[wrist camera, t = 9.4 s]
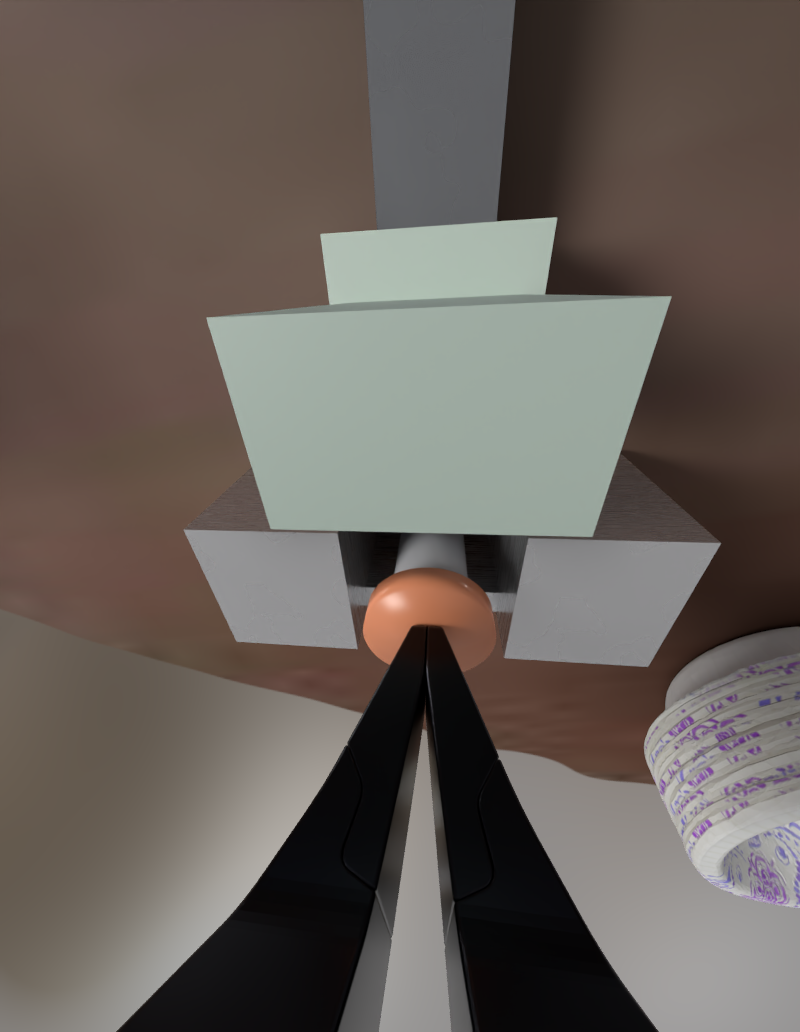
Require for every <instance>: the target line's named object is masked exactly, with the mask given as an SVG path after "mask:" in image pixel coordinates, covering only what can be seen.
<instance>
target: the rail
mask: <svg viewBox="0 0 800 1032" xmlns="http://www.w3.org/2000/svg"><path fill="white" fill-rule="evenodd" d="M363 5H364V22H365V38H366V55H367V71H368V88H369V104H370V121H371V137H372V153H373V170H374V186H375V203H376V219H377V230H385V229H399V228H413V227H427V226H441V225H455V224H469V223H483V222H497V210H498V198H499V187H500V175H501V163H502V152H503V140H504V128H505V117H506V105H507V93H508V81H509V70H510V58H511V46H512V35H513V23H514V11H515V0H363Z"/></svg>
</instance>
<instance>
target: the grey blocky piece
mask: <svg viewBox="0 0 800 1032" xmlns="http://www.w3.org/2000/svg"><path fill="white" fill-rule="evenodd" d="M184 532H185V534H186V536H187V538H188V540H189V542H190V544H191V546H192V549H193V551H194V553H195V555H196V557H197V559H198V561H199V563H200V565H201V567H202V570H203V572H204V574H205V576H206V578H207V580H208V582H209V584H210V586H211V589H212V591H213V593H214V595H215V597H216V599H217V601H218V603H219V605H220V607H221V610H222V612H223V614H224V616H225V618H226V620H227V622H228V624H229V626H230V629H231V631H232V633H233V635H234V637H235V639H236V641H237V642H252V643H268V644H284V645H300V646H317V647H333V648H349V649H358V646H359V641H360V637H361V633H362V628H363V624H364V620H365V616H366V611H367V607H368V603H369V599H370V596H371V594H372V592H373V590H374V589H375V588H376V587H377V585H378V584H380V583H381V582H382V581H383V580H384V579H386V578H387V577H389V576H391V575H393V574H394V572H395V566H396V560H397V554H398V548H399V542H400V536H401V532H365V531H323V530H282V529H270V525H269V522H268V519H267V515H266V512H265V509H264V506H263V502H262V499H261V496H260V492H259V489H258V486H257V483H256V479H255V476H254V473H253V469H252V467H251V468H250V469H249V470H248V471H247V472H246V473H245V474H244V475H242V476H241V477H240V478H239V479H238V480H237V481H236V482H235V483H234V484H233V485H232V486H230V487H229V488H228V489H227V490H226V491H225V492H224V493H223V494H222V495H221V496H220V497H219V498H217V499H216V500H215V501H214V502H213V503H212V504H211V505H210V506H209V507H208V508H207V509H205V510H204V511H203V512H202V513H201V514H200V515H199V516H198V517H197V518H196V519H195V520H194V521H192V522H191V523H190V524H189V525H188V526H187V527H186V528H185V529H184ZM464 544H465V555H466V565H467V576H468V578H469V579H471V580H472V581H473V582H475V583H476V584H477V585H479V586H480V587H481V588H482V589H483V591H484V592H485V593H486V594H487V596H488V598H489V600H490V602H491V605H492V610H493V611H494V612H496V615H497V620H498V626H499V632H500V638H501V643H502V649H503V655H504V658H511V659H527V660H544V661H560V662H576V663H592V664H609V665H625V666H641V667H648V666H649V664H650V663H651V661H652V659H653V658H654V656H655V654H656V652H657V651H658V649H659V647H660V646H661V644H662V642H663V641H664V639H665V637H666V636H667V634H668V632H669V631H670V629H671V627H672V625H673V624H674V622H675V620H676V619H677V617H678V615H679V614H680V612H681V610H682V609H683V607H684V605H685V604H686V602H687V600H688V598H689V597H690V595H691V593H692V592H693V590H694V588H695V587H696V585H697V583H698V582H699V580H700V578H701V576H702V575H703V573H704V571H705V570H706V568H707V566H708V565H709V563H710V561H711V560H712V558H713V556H714V555H715V553H716V551H717V549H718V548H719V546H720V544H721V542H719V541H718V540H717V539H716V538H715V537H714V536H713V535H712V534H710V533H709V532H708V531H707V530H706V529H705V528H704V527H703V526H701V525H700V524H699V523H698V522H697V521H696V520H695V519H694V518H692V517H691V516H690V515H689V514H688V513H687V512H686V511H685V510H683V509H682V508H681V507H680V506H679V505H678V504H677V503H676V502H675V501H673V500H672V499H671V498H670V497H669V496H668V495H667V494H666V493H664V492H663V491H662V490H661V489H660V488H659V487H658V486H657V485H655V484H654V483H653V482H652V481H651V480H650V479H649V478H648V477H646V476H645V475H644V474H643V473H642V472H641V471H640V470H639V469H637V468H636V467H635V466H634V465H633V464H632V463H631V462H630V461H629V460H627V459H626V458H625V457H624V456H623V455H622V454H621V453H620V455H619V458H618V461H617V464H616V467H615V470H614V473H613V476H612V479H611V482H610V485H609V488H608V491H607V494H606V497H605V500H604V503H603V506H602V509H601V512H600V516H599V519H598V522H597V525H596V528H595V531H594V534H593V537H572V536H530V535H489V534H464Z"/></svg>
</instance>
